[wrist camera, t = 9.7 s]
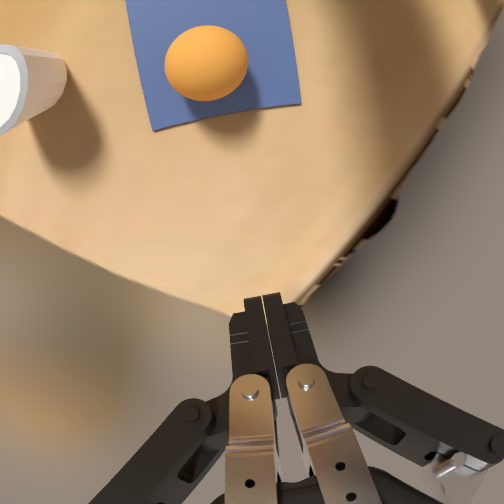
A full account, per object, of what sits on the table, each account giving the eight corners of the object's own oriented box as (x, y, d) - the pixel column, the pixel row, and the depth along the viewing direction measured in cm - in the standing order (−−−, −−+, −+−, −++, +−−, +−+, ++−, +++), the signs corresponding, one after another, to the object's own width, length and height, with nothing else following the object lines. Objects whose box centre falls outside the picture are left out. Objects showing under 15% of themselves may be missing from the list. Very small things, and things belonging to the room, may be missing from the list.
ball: (147, 50, 13) (181, 125, 17) (242, 18, 12) (265, 97, 17) (156, 38, 16) (181, 97, 21) (229, 13, 16) (248, 74, 20)
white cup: (36, 35, 14) (-13, 33, 8) (87, 61, 17) (43, 61, 11) (5, 101, 16) (-43, 118, 11) (51, 130, 19) (6, 153, 14)
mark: (126, 0, 14) (125, -1, 14) (279, -28, 14) (279, -29, 14) (153, 130, 21) (152, 130, 21) (300, 103, 21) (301, 103, 21)
